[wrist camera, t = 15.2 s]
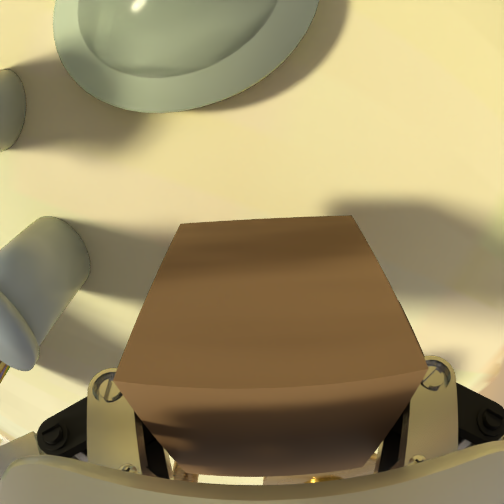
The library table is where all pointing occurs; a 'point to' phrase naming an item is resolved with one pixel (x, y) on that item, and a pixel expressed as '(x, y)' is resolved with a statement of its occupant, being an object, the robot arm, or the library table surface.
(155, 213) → the library table surface
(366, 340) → the block
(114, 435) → the robot arm
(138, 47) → the dish
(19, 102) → the grey bell shape
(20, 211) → the library table surface
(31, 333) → the blue-grey domed cylinder
